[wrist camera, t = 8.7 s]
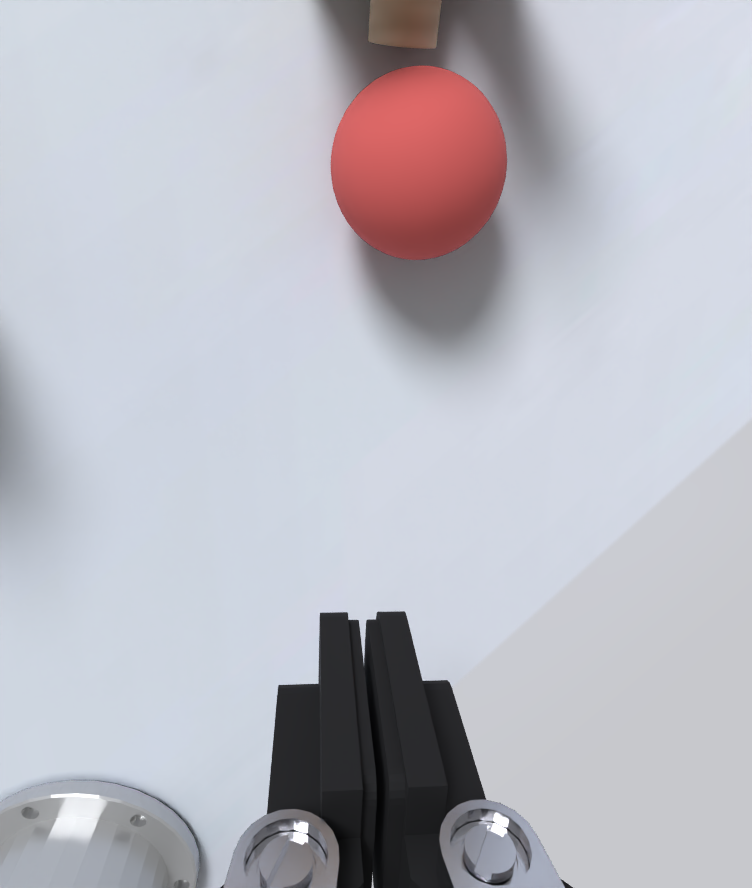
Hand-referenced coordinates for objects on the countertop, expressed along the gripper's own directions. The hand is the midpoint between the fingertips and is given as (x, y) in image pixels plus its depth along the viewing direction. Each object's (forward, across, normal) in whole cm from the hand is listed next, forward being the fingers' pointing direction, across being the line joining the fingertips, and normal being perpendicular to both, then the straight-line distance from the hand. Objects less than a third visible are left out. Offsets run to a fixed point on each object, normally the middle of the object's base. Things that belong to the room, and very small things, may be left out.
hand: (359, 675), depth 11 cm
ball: (+13, -2, -11) cm, 17 cm away
